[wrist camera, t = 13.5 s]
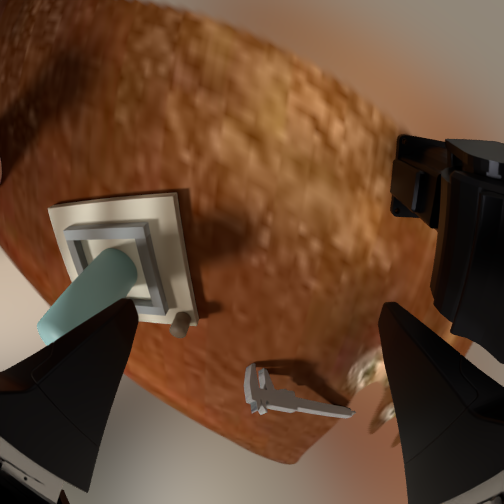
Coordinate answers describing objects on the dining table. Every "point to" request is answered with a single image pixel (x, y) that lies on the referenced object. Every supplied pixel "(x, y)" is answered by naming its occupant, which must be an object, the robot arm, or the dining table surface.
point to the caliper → (283, 398)
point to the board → (134, 251)
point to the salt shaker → (0, 171)
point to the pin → (89, 294)
